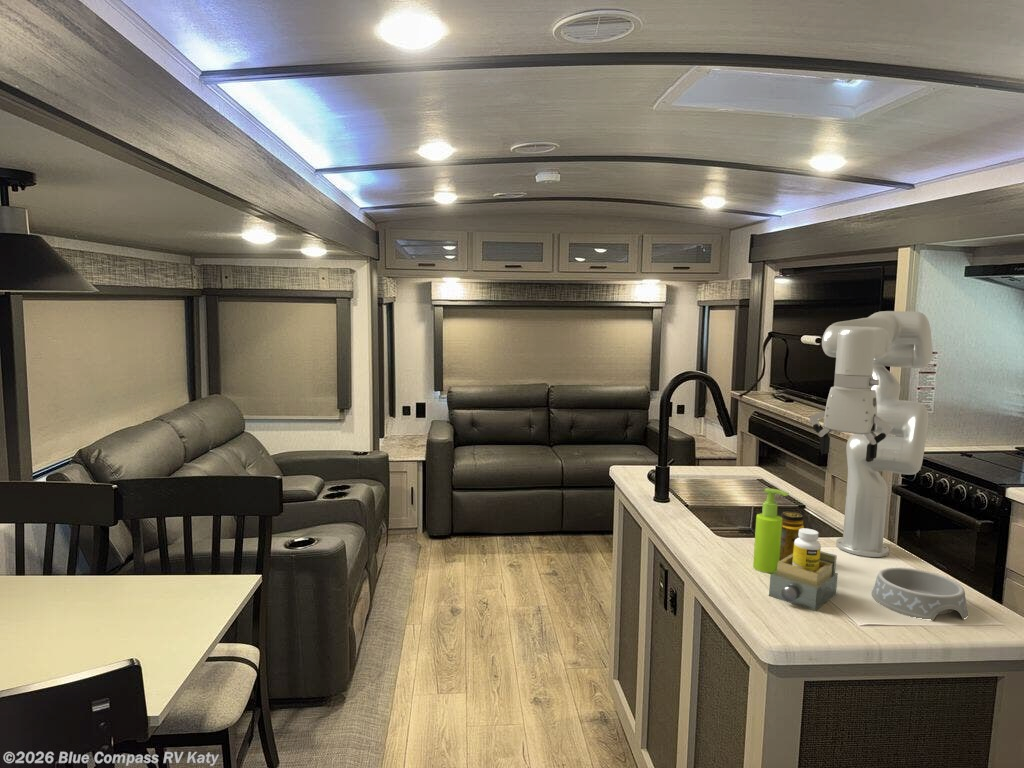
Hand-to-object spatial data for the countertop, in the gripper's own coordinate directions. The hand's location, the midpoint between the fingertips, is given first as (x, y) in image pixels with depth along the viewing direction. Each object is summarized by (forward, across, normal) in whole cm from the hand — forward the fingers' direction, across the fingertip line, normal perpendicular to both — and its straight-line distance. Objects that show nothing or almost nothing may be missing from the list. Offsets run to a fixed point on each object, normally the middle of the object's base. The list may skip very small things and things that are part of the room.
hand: (846, 457), depth 148 cm
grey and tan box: (+30, +3, +12) cm, 33 cm away
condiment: (+31, +15, -7) cm, 35 cm away
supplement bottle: (+26, +3, +12) cm, 28 cm away
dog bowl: (+31, -16, -4) cm, 35 cm away
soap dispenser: (+31, +15, +3) cm, 34 cm away
